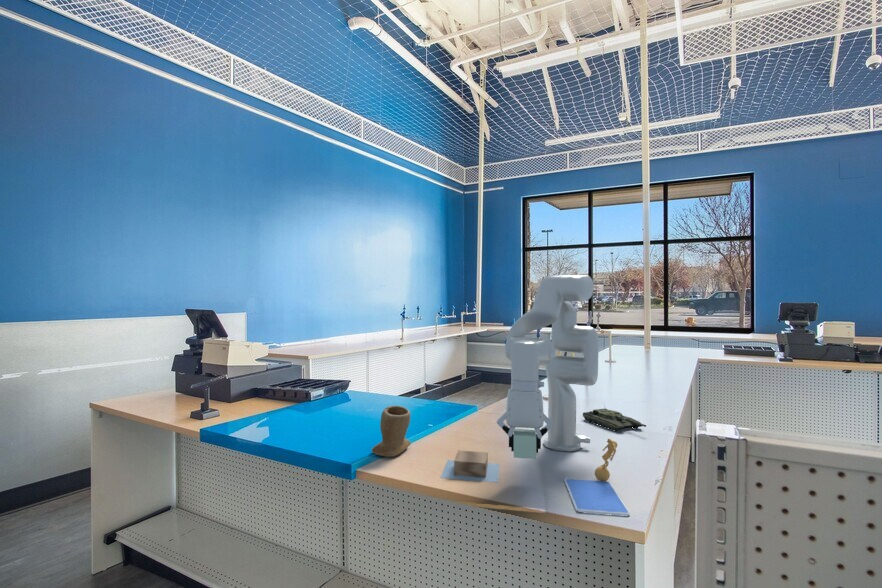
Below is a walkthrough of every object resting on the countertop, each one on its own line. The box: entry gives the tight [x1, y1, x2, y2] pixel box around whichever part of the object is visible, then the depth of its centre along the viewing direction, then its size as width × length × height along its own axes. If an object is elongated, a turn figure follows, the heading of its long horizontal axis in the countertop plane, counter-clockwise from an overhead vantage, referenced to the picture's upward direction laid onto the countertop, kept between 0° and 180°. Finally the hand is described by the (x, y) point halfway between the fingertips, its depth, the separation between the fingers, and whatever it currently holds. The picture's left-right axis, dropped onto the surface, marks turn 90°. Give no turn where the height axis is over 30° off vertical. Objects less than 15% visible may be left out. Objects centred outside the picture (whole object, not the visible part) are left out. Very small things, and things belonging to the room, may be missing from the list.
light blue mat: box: [440, 459, 500, 484], centre depth 126 cm, size 16×14×1 cm
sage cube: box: [513, 428, 537, 460], centre depth 119 cm, size 6×6×6 cm
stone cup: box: [371, 405, 412, 458], centre depth 144 cm, size 15×12×15 cm
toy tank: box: [582, 404, 647, 432], centre depth 177 cm, size 14×28×10 cm, turn 22°
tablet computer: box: [564, 478, 631, 516], centre depth 112 cm, size 19×13×1 cm, turn 173°
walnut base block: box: [453, 449, 489, 478], centre depth 126 cm, size 9×9×4 cm
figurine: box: [594, 438, 618, 482], centre depth 122 cm, size 8×6×12 cm
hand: (524, 449), depth 119 cm, fingers closed on sage cube, 6 cm apart
